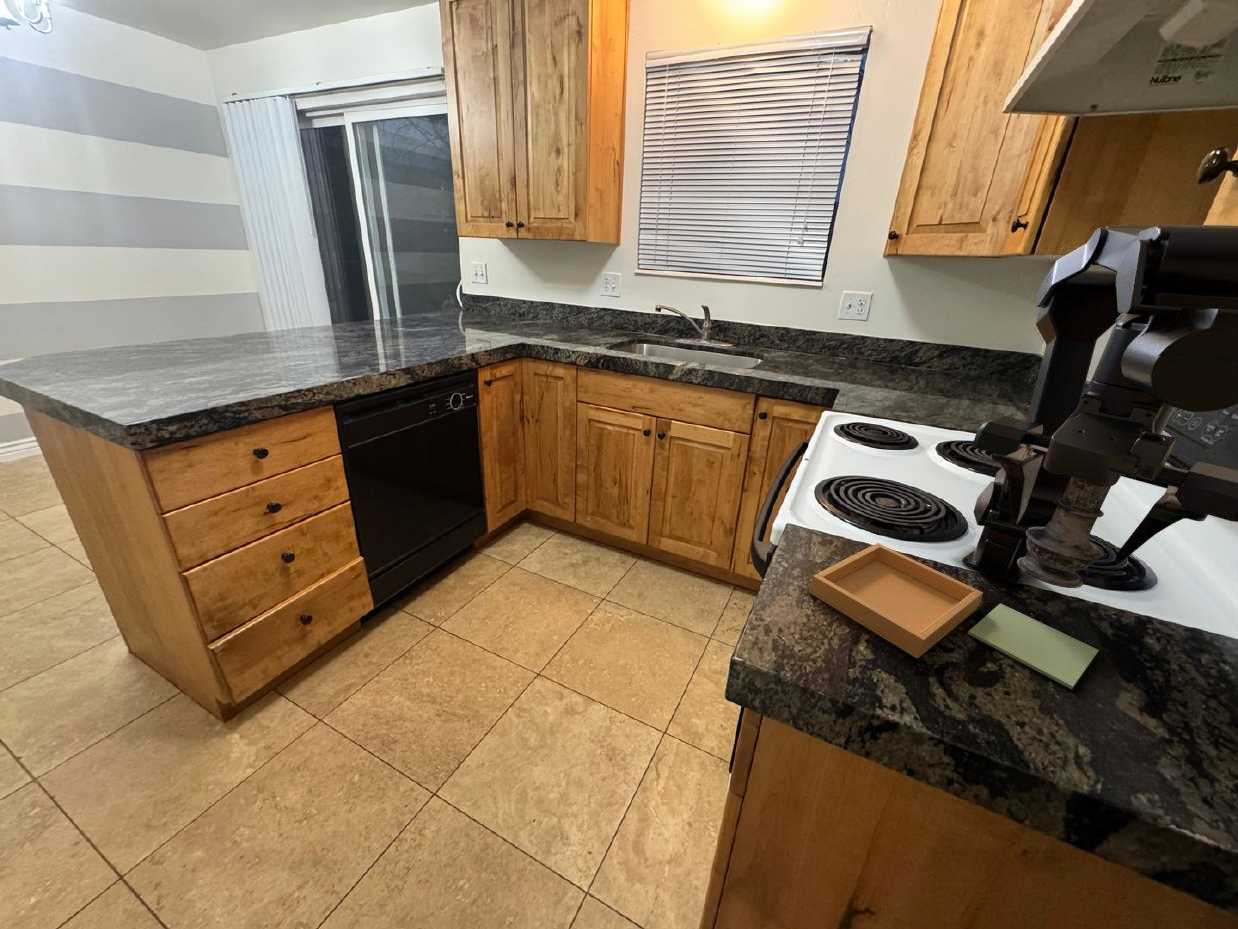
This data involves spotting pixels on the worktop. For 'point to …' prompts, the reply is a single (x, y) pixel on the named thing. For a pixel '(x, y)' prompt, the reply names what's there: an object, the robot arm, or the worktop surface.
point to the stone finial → (1066, 537)
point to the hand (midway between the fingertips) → (1063, 541)
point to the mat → (1035, 644)
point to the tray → (896, 597)
